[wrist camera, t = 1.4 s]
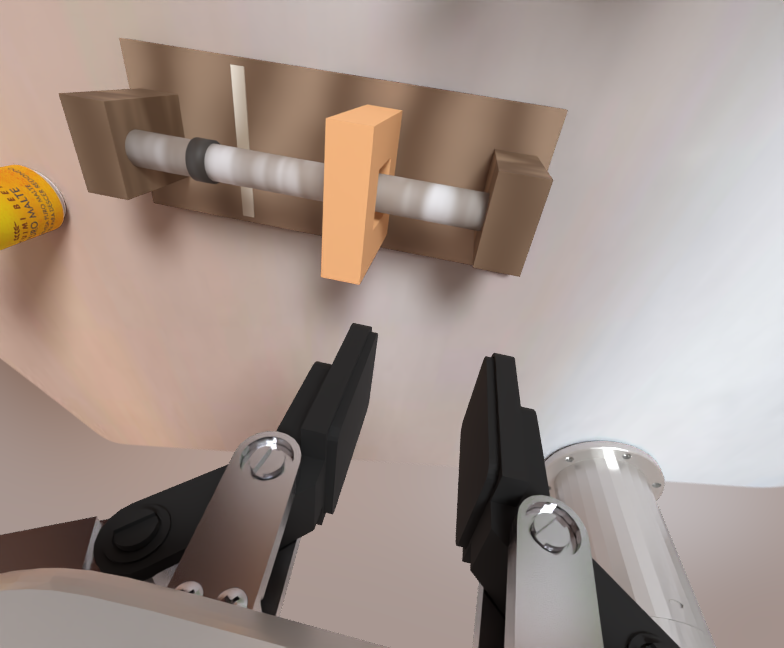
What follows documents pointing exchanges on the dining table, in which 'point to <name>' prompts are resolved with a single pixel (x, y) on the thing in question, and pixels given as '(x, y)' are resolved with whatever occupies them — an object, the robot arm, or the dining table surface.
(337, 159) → the collar
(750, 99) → the dining table surface
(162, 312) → the dining table surface
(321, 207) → the pipe stand
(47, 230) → the beer can
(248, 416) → the dining table surface
